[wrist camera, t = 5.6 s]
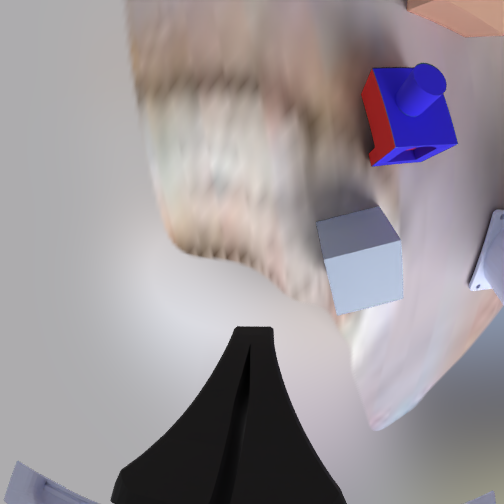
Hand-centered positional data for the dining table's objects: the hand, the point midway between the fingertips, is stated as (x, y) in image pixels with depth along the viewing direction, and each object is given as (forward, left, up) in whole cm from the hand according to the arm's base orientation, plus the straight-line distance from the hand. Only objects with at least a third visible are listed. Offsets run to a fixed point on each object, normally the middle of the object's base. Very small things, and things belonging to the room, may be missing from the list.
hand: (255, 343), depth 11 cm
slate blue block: (-6, +2, -10) cm, 12 cm away
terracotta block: (-12, -16, -10) cm, 23 cm away
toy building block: (-8, -7, -11) cm, 15 cm away
